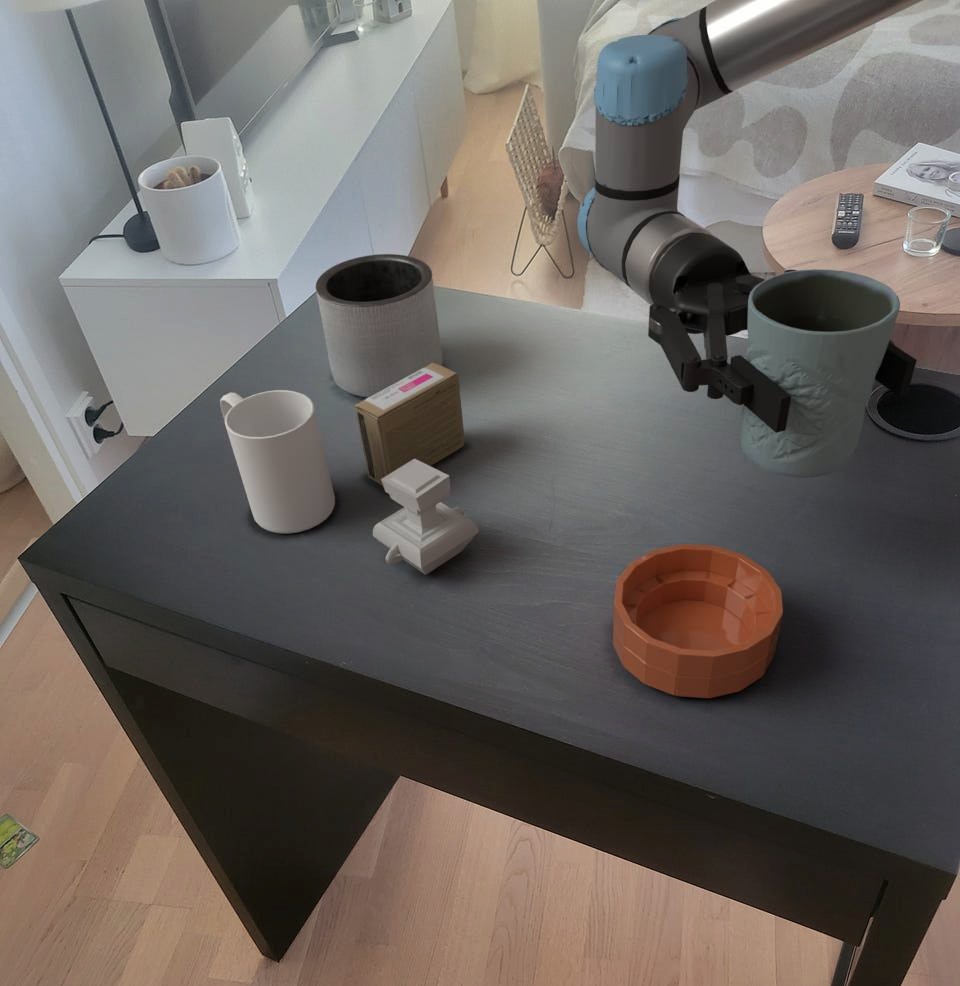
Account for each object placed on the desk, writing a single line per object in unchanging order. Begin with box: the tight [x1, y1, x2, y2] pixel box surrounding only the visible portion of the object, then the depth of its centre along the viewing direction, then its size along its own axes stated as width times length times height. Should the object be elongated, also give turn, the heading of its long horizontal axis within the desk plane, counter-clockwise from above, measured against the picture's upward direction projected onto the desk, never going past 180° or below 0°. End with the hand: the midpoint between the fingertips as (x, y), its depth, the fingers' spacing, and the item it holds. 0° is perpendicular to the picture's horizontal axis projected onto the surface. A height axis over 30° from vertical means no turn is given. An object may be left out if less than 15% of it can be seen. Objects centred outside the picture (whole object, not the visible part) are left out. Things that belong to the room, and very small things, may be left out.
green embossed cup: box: [740, 268, 901, 479], centre depth 70 cm, size 10×10×12 cm
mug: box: [219, 389, 336, 534], centre depth 88 cm, size 12×8×10 cm, turn 44°
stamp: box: [372, 459, 479, 576], centre depth 81 cm, size 9×7×8 cm
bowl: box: [612, 543, 784, 699], centre depth 72 cm, size 12×12×5 cm
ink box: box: [354, 363, 466, 487], centre depth 92 cm, size 10×4×8 cm, turn 133°
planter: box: [315, 253, 443, 399], centre depth 103 cm, size 12×12×11 cm
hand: (846, 396), depth 67 cm, fingers closed on green embossed cup, 9 cm apart
